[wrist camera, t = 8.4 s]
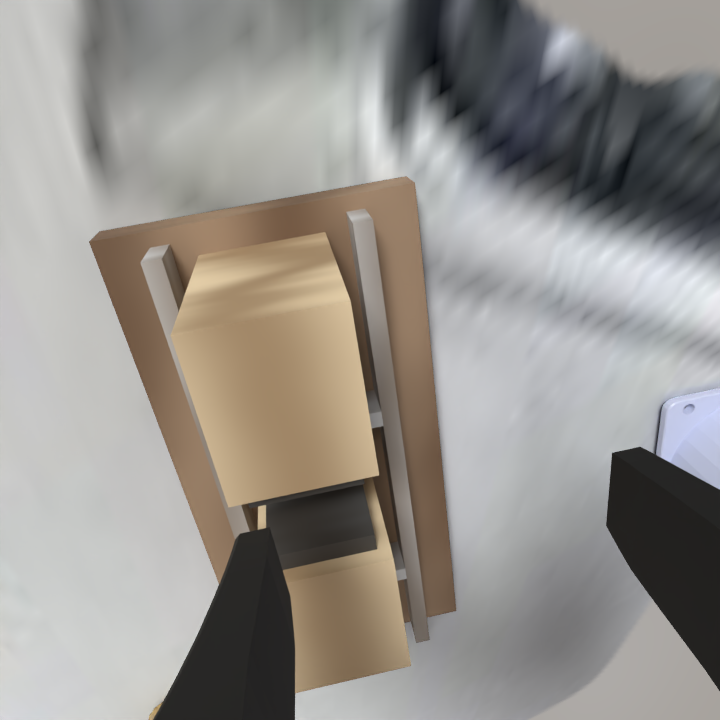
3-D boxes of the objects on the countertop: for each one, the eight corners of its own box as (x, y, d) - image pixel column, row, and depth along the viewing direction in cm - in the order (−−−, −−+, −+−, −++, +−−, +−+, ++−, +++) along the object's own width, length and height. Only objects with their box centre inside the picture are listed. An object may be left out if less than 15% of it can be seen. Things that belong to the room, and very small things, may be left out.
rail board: (406, 176, 19) (479, 232, 12) (448, 590, 28) (502, 742, 22) (99, 231, 18) (10, 320, 12) (248, 636, 27) (243, 806, 21)
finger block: (360, 427, 21) (391, 544, 16) (378, 535, 24) (411, 665, 19) (255, 448, 21) (252, 575, 16) (285, 555, 24) (291, 693, 19)
